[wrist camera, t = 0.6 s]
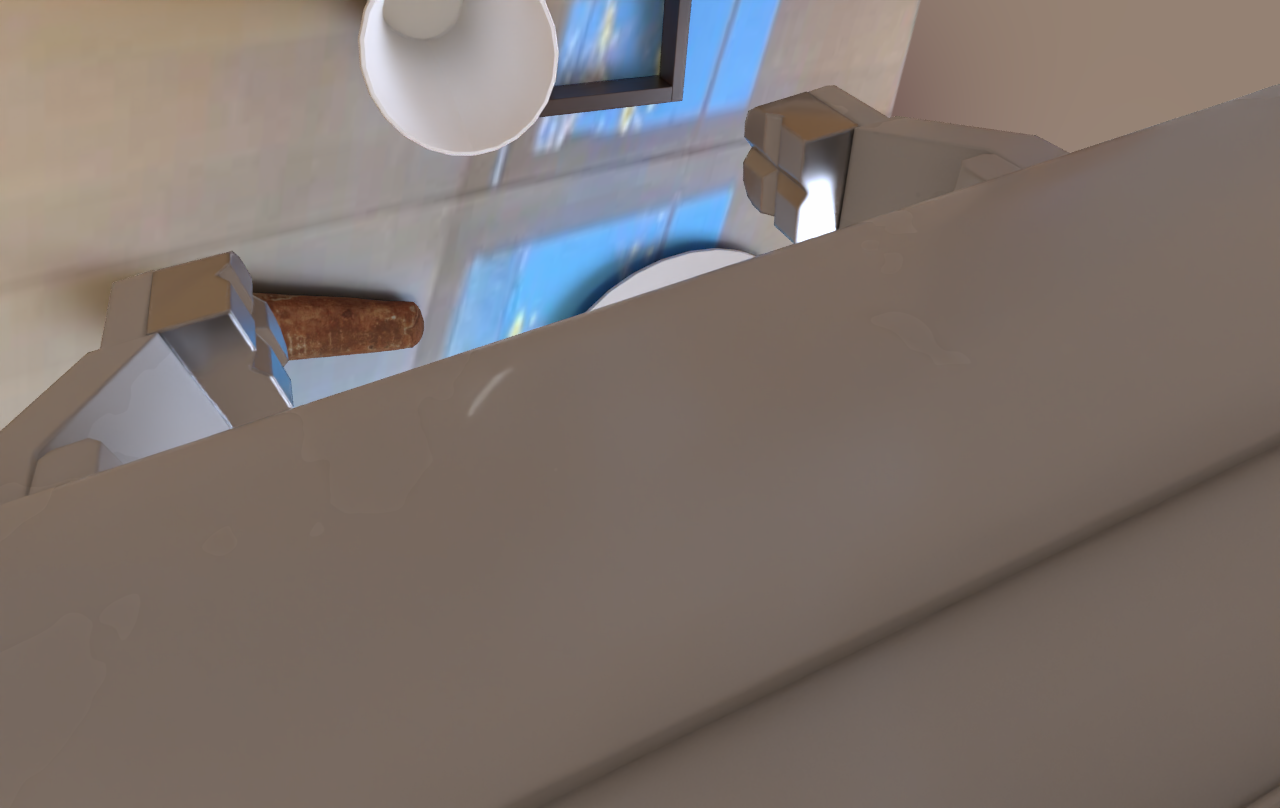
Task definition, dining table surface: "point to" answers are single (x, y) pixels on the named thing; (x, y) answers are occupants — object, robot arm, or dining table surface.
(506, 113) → the cup
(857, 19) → the dining table surface
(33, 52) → the dining table surface
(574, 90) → the dark brown flat frame
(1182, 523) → the robot arm
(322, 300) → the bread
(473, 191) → the dining table surface
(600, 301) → the plated food
